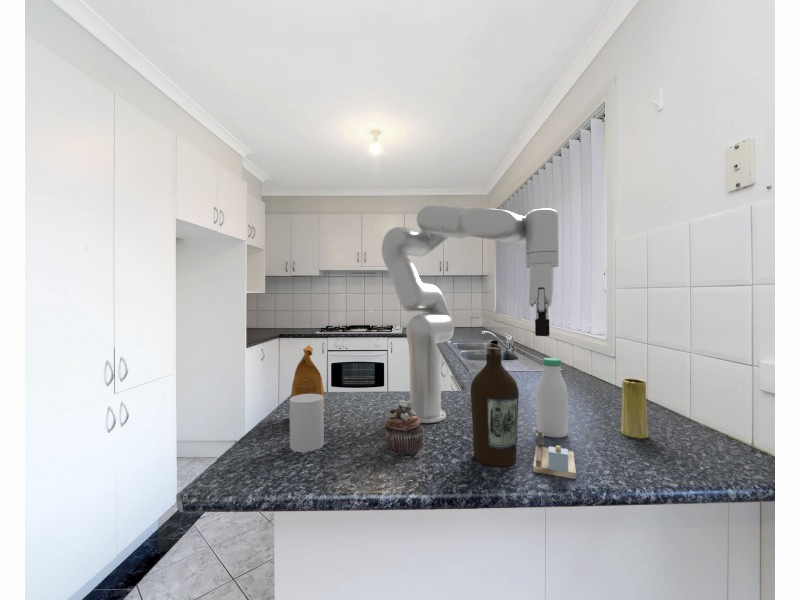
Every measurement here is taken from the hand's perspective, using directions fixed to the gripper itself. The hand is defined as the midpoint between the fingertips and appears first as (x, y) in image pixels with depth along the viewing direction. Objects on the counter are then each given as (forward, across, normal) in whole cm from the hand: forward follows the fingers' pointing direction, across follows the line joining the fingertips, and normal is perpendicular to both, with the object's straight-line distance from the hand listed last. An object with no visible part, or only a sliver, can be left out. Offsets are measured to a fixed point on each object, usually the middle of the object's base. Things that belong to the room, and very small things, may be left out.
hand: (542, 335), depth 89 cm
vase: (+27, -17, +22) cm, 39 cm away
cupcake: (+27, +14, -31) cm, 44 cm away
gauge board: (+27, +10, +2) cm, 29 cm away
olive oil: (+27, +11, -10) cm, 31 cm away
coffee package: (+27, +6, -66) cm, 72 cm away
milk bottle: (+27, -10, +2) cm, 29 cm away
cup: (+27, +22, -54) cm, 64 cm away
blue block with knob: (+26, +14, +3) cm, 30 cm away
